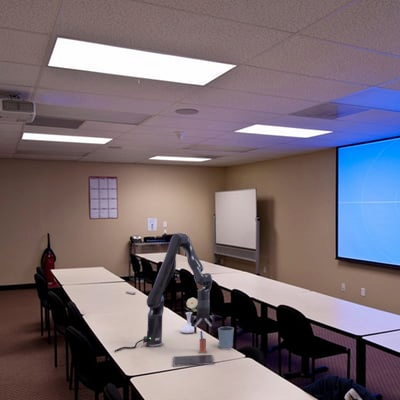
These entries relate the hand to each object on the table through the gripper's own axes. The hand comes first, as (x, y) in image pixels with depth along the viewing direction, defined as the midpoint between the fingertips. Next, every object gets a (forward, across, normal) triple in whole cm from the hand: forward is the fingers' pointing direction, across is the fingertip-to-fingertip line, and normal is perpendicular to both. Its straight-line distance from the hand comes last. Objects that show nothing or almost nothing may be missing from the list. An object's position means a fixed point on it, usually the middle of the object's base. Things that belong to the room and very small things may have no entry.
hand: (202, 332), depth 259 cm
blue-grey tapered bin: (+12, -15, -8) cm, 21 cm away
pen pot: (+12, 0, 0) cm, 12 cm away
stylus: (+11, 0, 0) cm, 11 cm away
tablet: (+12, +6, +14) cm, 19 cm away
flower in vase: (+12, +7, -45) cm, 47 cm away
